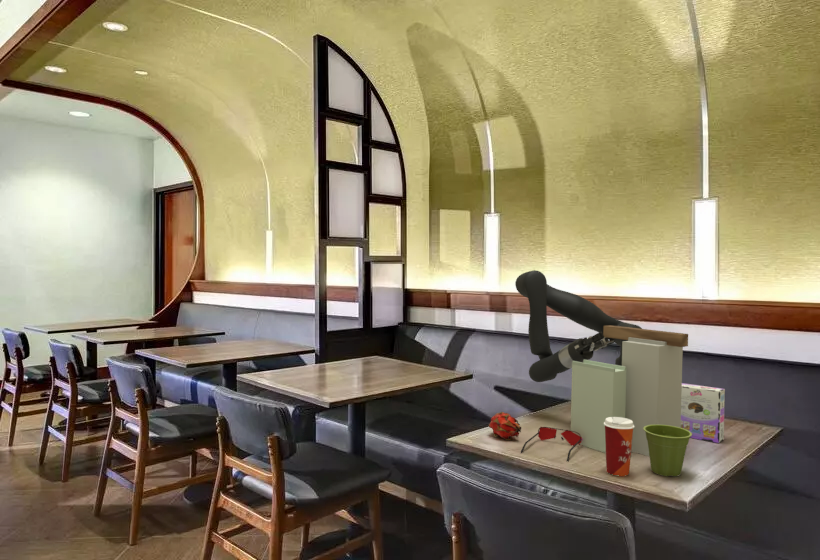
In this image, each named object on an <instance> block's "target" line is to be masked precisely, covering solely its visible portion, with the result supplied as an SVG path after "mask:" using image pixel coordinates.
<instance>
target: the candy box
mask: <svg viewBox="0 0 820 560" xmlns="http://www.w3.org/2000/svg"><path fill="white" fill-rule="evenodd" d="M725 392H726V389H725V388H720V387H715V386H714V387H713V386H712V387H711V386H706V385H705V386H704V385H699V384H693V383H692V384H690V383H683V382H682V394H681V428H683V429H686V430H688V431H690V432H691V433H692V436H691V437H690V438H689V439H695V440H700V441H706V442H710V443H717V444H719V443H721V442H722V440H723V441H724V439H725V402H726V401H725V397H726V396H725V395H726V393H725Z"/></svg>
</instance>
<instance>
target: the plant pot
mask: <svg viewBox="0 0 820 560" xmlns="http://www.w3.org/2000/svg"><path fill="white" fill-rule="evenodd" d="M643 429H644V431H645V432H646V438H647V441H648V448H649V456H650V457H649V456H648V457H649V463H650V470H651V471H652V472H653V473H654V474H656V475H659V476H662V475H663V476H662V477H670V476H671V477H674V476H676V477H679V476H680V475H681V473H682V469H683V465H684V460H685V456H686V451H687V446H688V445H689V441H690V439H691V438H690V437H691V436H692V433H691V432H690V431H688V430H686V429H683V428H680V427H675V426H670V425H658V424H656V425H647V426H644V428H643ZM678 475H679V476H678Z"/></svg>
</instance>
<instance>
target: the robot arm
mask: <svg viewBox="0 0 820 560" xmlns="http://www.w3.org/2000/svg"><path fill="white" fill-rule="evenodd" d="M514 286H515V289H516V291H517V292H518V294H519V295H521V296H523V297H525V298H527V300H528V304H529V305H528V306H529V321H528V341H529V349H530V352H531V354H532V355H534V356H538V358H539V360H537V361H534V362H533V363H532V364H531V365H530V367H529V369H528V375H529V377H530V379H531V380H532V381H533V382H536V383H543V382H549V381H552V380H554V379H556V377H557V375H558V374H561V373H565V372H566V371H568V370H570V369H572V361H576V362H582V363H583V360H591V359H592V358H593V357H594V352H596V351H598V350H600V349H602V350H603V349H605V348H607V347H609V346H611V345H613V344H615V345H617V346H619V347H620V352H619V356H618V357H616V358H615V364H614V365H619V366H622V341H628V340H623V339H616V338H608V337H604V335H603V329H604V326H608V325H612V326H621V327H630V328H639V329H643V328H642V327H641V326H639V325H637V324H634V323H628V322H624V321H622V320H619V319H616V318H614V317H612V316H610V315H609V314H607V313H606V312H604V311H603V310H602V308H600V307H599V306H597V305H596V304H594V303H593V302H592V301H590V300H588V299H586V298H584V297H582V296H580V295H578V294H575V293H572V292H569V291H566V290H562V289H558V288H556V287H553V286H551V285H549V284H548V282H547V277H546V276H545V275H544V273H542V272H541V271H539V270H535V269H534V270H529V271H526V272H523V273H521V274H519V275H518V276H517V278H516V279H515V283H514ZM547 307H548V308H550V309H551V310H552V311H554V312H555V313H558V314H559V315H561V316H563V317H565V318H567V319H569V320H570V321H572V322H573V323H576V324H578V325H580V326H583V327H584V328H585V329H589V330H592V331H594V332H596V333H595V334H594V335H591V336H588V337H587V336H586V337H583V338H582V337H581V338H577V339H576V340H573V341H572V342H570V343H568V344H567V345H565V346H563V348H561V349H559V350H558V351H556V352H554V353H553V351H552V348H551V343H550V335H549V326H548V314H547V313H548V312H547V310H548V308H547Z"/></svg>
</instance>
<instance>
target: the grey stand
mask: <svg viewBox="0 0 820 560" xmlns="http://www.w3.org/2000/svg"><path fill="white" fill-rule="evenodd" d="M683 348H684V347H676V346H669V345H667V342H663V341H655V340H647V339H639V338H631V337H629V338H628V341H622V366H624V367H626V406H625V418H627V419H630V420H632V421H633V425H634V426H635V427H634V428H633V436H632V448H631V452H633V453H636V454H641V455H643V456H646V457H649V458H650V456H649V448H648V441H647V438H646V432H645V431H644V429H643V428H644V426H647V425H656V424H658V425H670V426H675V427H680V428H681V394H682V383H683V353H684V350H683Z"/></svg>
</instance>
